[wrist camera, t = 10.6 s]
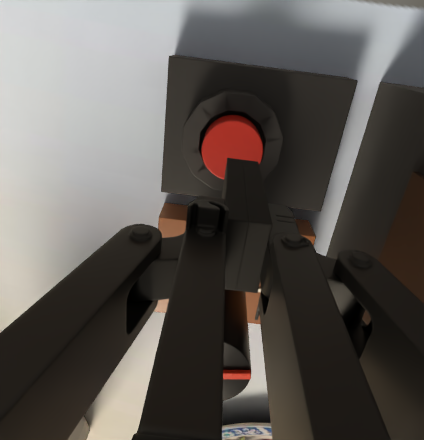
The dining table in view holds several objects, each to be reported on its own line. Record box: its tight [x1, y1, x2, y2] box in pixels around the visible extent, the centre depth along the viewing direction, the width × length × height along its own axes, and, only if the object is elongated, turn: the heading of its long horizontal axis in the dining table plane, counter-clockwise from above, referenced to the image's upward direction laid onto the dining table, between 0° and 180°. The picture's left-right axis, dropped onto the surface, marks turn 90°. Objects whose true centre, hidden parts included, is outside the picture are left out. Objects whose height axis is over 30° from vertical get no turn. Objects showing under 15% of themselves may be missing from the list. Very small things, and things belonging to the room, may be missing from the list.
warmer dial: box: [223, 289, 251, 401], centre depth 27 cm, size 6×6×10 cm
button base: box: [161, 55, 357, 211], centre depth 27 cm, size 13×10×4 cm
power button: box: [202, 115, 263, 179], centre depth 24 cm, size 4×4×2 cm
